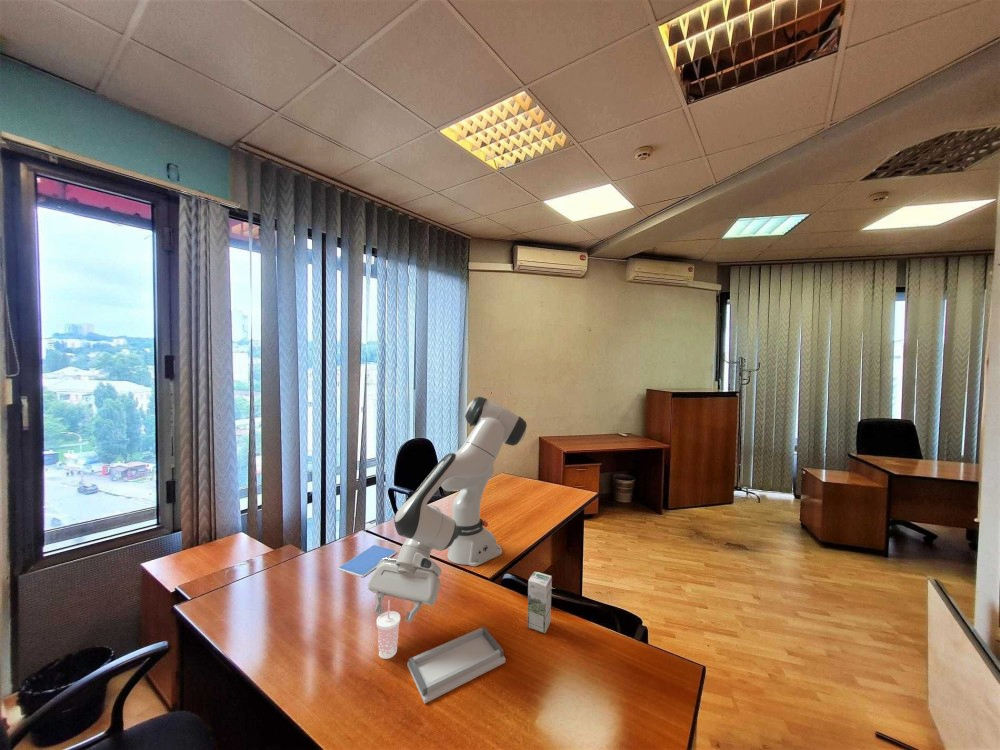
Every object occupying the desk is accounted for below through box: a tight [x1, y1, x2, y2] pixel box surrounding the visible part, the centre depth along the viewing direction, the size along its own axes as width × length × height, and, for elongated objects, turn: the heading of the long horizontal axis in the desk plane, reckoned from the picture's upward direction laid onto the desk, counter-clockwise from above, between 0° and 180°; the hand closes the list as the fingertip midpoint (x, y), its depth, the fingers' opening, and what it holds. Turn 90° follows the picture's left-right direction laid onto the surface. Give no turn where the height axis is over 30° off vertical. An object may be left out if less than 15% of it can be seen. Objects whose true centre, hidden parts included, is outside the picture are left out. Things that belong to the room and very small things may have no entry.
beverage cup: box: [376, 599, 401, 660], centre depth 95 cm, size 6×6×14 cm
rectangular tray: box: [406, 626, 506, 704], centre depth 92 cm, size 22×12×2 cm, turn 123°
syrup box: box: [526, 571, 553, 634], centre depth 106 cm, size 6×6×14 cm
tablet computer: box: [337, 544, 398, 578], centre depth 139 cm, size 19×13×1 cm, turn 157°
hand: (392, 617), depth 95 cm, fingers open, 8 cm apart
